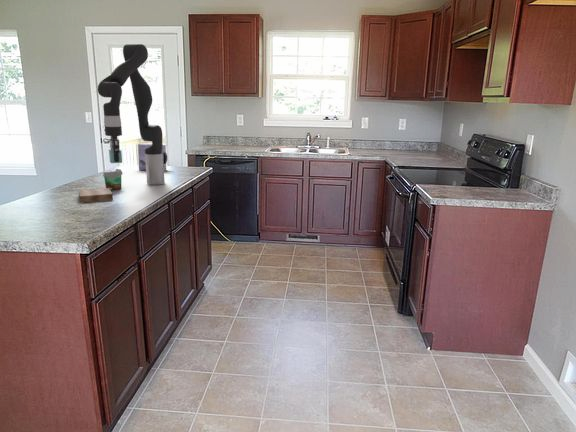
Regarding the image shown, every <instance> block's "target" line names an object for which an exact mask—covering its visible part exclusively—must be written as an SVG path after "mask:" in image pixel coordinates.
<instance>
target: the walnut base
mask: <svg viewBox="0 0 576 432" xmlns="http://www.w3.org/2000/svg"><path fill="white" fill-rule="evenodd" d="M113 195H114V194H113V191H110V189H109V188H107V189H106V188H96V189H82V190H81V189H80V190H78V198H79V202H80V203H91V202H92V203H93V202H106V201H114V198H113V197H114V196H113Z"/></svg>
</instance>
